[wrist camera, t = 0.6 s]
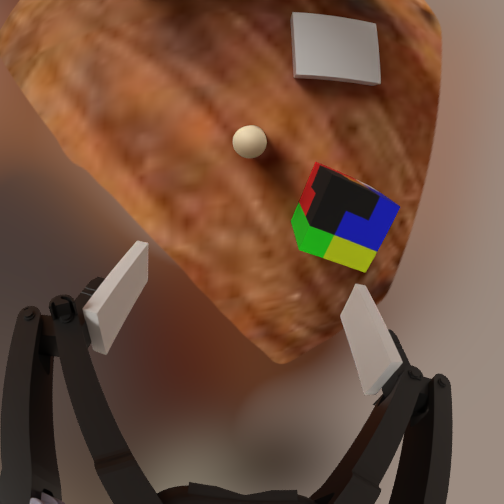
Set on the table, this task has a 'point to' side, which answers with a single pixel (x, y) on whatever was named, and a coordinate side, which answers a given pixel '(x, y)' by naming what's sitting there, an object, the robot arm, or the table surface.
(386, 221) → the puzzle toy
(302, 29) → the slab
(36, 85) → the table surface
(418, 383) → the robot arm
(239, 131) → the dowel
